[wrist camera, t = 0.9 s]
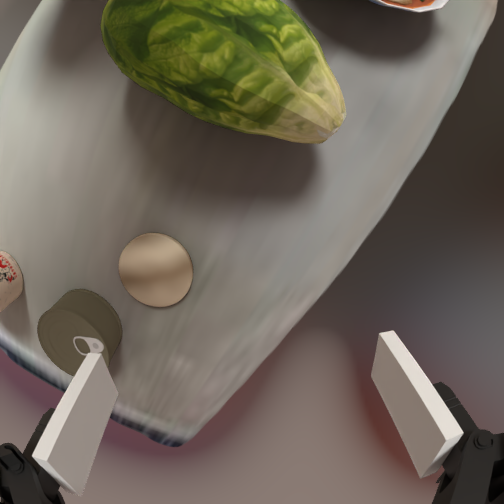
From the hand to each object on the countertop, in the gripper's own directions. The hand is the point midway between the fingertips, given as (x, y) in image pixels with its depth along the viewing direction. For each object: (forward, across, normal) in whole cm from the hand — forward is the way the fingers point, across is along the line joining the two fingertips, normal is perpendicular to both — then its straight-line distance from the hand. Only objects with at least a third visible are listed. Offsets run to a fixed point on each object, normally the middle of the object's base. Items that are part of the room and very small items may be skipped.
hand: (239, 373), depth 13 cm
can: (+26, -25, -13) cm, 38 cm away
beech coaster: (+26, -11, -5) cm, 29 cm away
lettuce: (+26, 0, +19) cm, 33 cm away
